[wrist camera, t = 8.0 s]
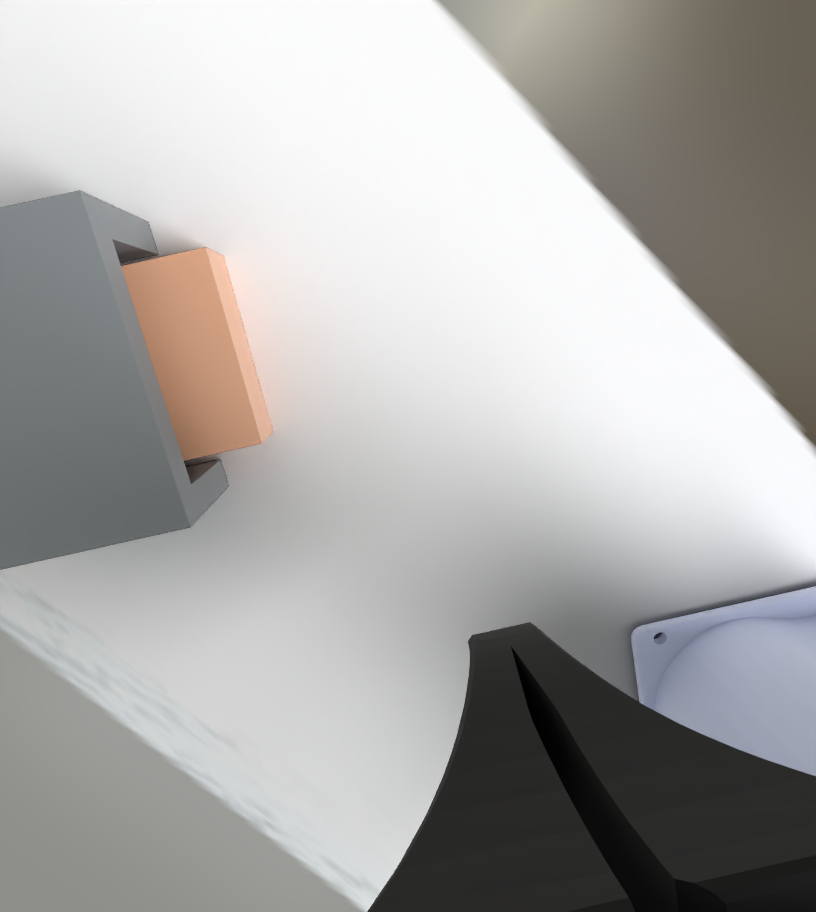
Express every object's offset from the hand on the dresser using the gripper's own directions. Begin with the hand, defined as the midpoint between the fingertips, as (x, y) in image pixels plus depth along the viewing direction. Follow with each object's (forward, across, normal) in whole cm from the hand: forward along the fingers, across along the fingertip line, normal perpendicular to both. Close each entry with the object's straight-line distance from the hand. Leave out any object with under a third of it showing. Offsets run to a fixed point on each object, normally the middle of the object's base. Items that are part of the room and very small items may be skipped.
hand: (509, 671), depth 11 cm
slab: (+10, +10, -8) cm, 16 cm away
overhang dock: (+9, +11, -8) cm, 16 cm away
